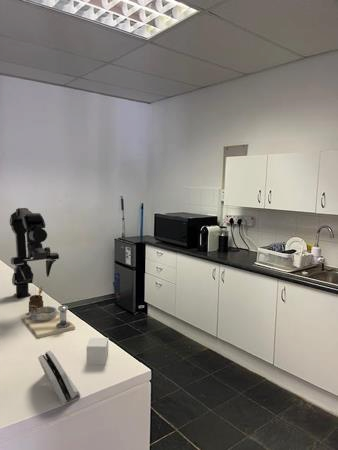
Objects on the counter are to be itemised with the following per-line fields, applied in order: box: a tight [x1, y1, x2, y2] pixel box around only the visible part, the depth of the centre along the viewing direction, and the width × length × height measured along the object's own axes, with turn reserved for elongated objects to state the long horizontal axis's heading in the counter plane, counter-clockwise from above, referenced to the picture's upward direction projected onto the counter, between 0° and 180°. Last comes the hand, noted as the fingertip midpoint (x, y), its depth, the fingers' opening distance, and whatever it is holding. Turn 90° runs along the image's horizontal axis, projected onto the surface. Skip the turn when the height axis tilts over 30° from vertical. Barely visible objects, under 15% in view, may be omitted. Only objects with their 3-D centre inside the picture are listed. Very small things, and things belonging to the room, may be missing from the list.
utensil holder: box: [28, 286, 44, 313], centre depth 145 cm, size 6×6×12 cm
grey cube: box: [86, 337, 109, 365], centre depth 107 cm, size 6×6×6 cm
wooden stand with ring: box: [21, 304, 76, 339], centre depth 134 cm, size 22×14×9 cm, turn 38°
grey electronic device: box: [37, 350, 82, 405], centre depth 92 cm, size 17×5×10 cm, turn 35°
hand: (37, 278), depth 145 cm, fingers open, 9 cm apart
